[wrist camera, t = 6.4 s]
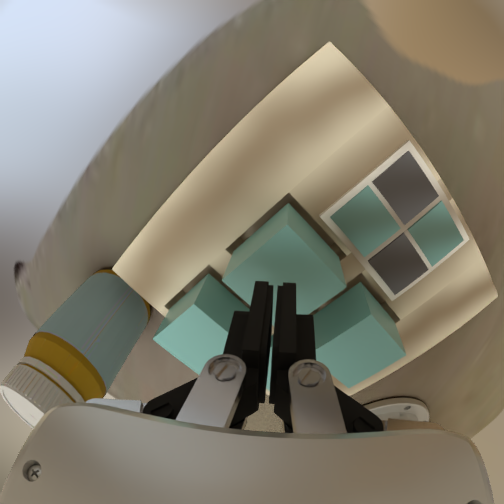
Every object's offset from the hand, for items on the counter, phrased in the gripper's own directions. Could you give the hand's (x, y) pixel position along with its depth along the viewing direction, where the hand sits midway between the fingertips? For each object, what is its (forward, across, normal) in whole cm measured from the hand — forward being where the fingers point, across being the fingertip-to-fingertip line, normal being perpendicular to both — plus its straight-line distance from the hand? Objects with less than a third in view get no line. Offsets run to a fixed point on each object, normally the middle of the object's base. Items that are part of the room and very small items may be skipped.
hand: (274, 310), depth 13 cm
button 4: (+6, +5, +6) cm, 10 cm away
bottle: (+10, +15, +8) cm, 20 cm away
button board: (+10, -3, +3) cm, 11 cm away
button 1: (+6, -5, +6) cm, 10 cm away
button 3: (+7, 0, +1) cm, 7 cm away
